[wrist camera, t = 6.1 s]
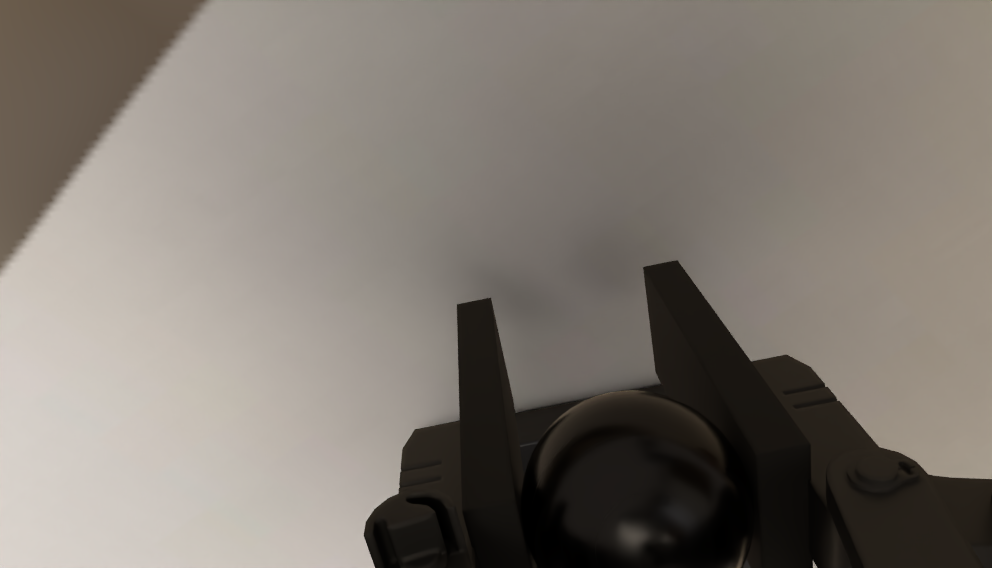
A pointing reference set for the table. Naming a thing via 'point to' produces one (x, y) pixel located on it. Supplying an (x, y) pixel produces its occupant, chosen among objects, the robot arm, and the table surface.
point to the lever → (636, 488)
